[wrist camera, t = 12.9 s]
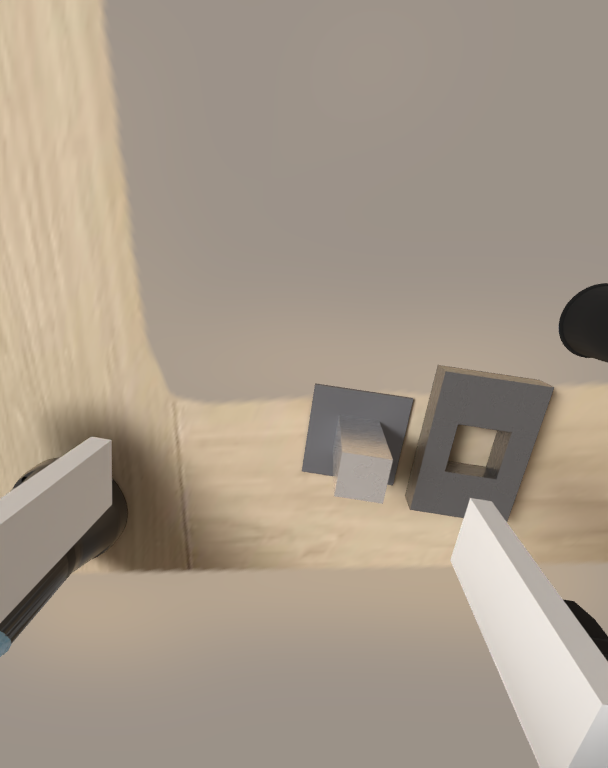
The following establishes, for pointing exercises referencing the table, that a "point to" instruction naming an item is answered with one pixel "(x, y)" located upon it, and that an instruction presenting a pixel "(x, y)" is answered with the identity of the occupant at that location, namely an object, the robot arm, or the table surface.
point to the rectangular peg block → (360, 460)
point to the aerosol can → (586, 323)
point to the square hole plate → (485, 410)
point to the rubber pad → (356, 405)
